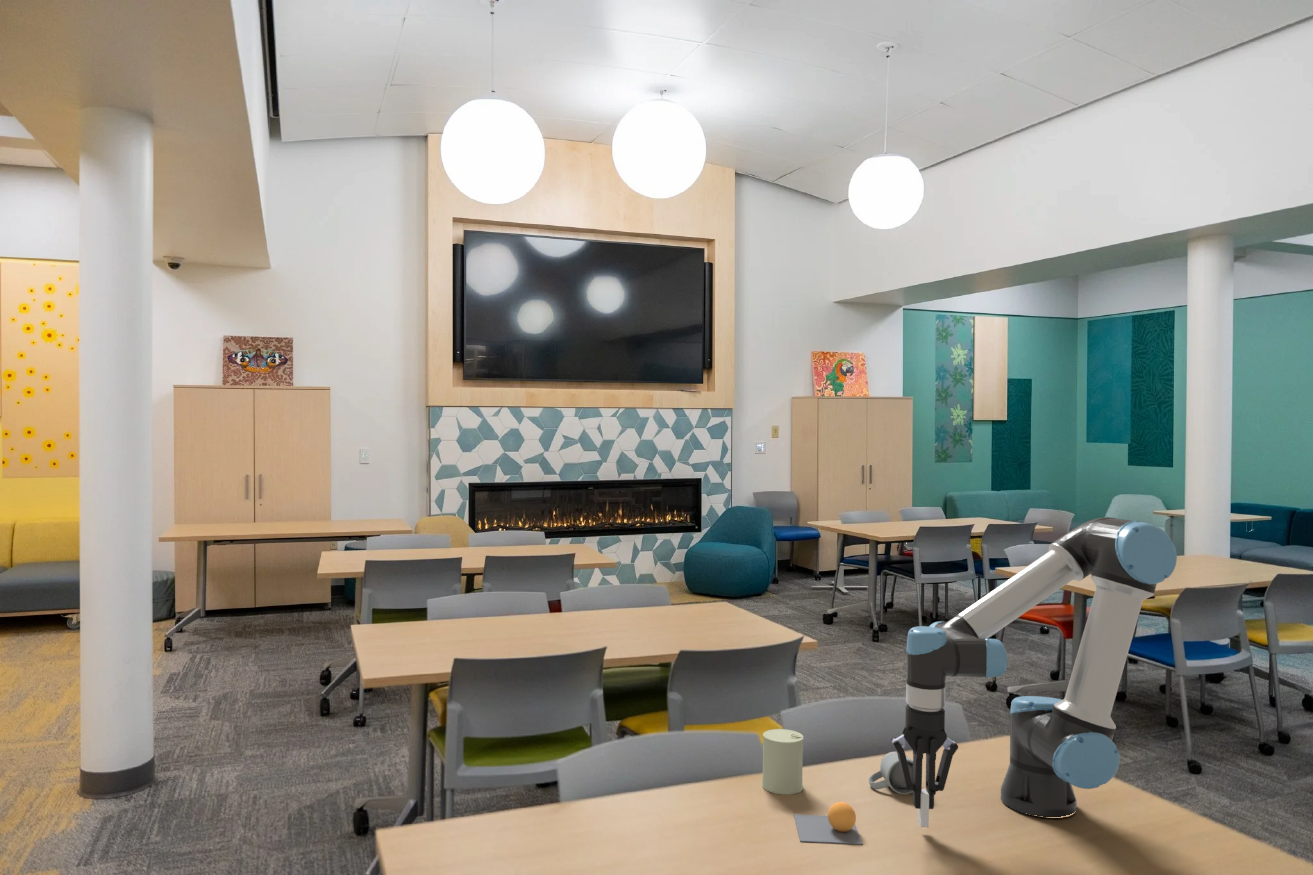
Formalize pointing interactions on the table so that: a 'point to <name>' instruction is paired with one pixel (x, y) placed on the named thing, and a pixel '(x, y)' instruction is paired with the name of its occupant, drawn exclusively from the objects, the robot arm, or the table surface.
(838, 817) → the ball
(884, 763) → the ceramic mug
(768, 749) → the can
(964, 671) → the robot arm
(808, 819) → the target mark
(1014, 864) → the table surface
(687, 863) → the table surface
